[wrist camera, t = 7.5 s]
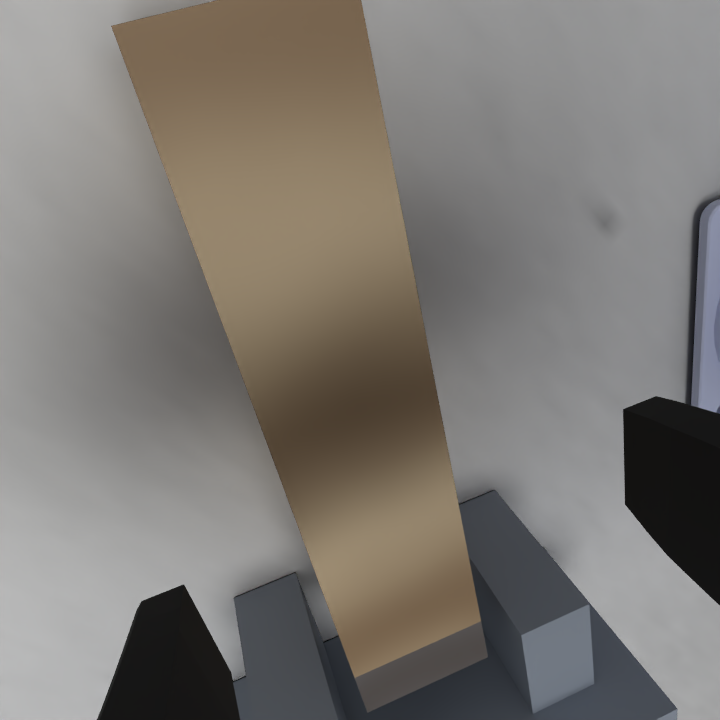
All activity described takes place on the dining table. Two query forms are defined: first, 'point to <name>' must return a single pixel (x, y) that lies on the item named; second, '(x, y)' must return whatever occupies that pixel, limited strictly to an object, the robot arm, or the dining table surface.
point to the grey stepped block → (476, 682)
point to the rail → (319, 310)
